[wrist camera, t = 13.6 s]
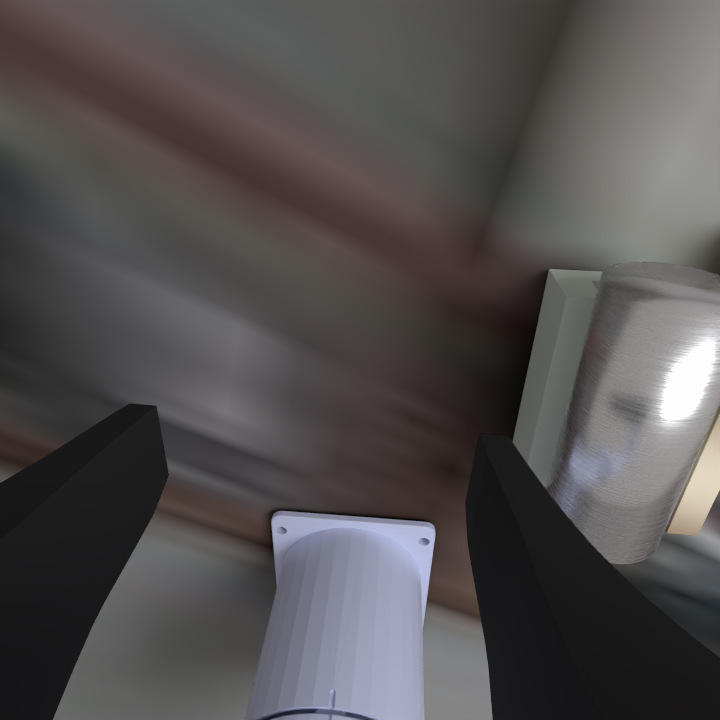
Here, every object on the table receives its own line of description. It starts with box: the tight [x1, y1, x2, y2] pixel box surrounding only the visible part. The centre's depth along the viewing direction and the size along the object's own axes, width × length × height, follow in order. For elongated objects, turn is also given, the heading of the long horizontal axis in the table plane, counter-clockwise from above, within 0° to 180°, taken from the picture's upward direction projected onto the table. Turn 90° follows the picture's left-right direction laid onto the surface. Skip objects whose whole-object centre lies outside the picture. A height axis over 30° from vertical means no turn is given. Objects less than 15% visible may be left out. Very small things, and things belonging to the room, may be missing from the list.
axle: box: [545, 262, 720, 564], centre depth 17 cm, size 9×4×4 cm, turn 179°
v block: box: [513, 269, 602, 487], centre depth 20 cm, size 8×5×2 cm, turn 179°
